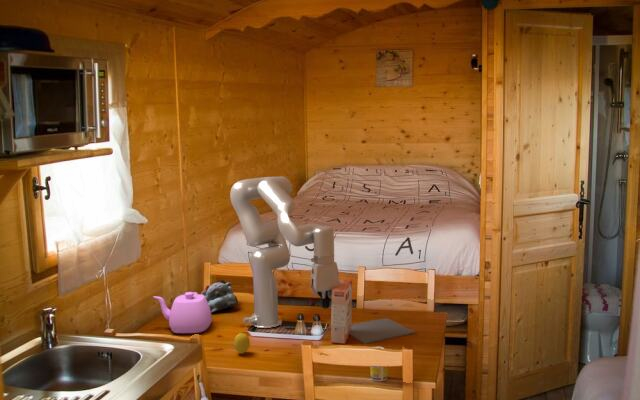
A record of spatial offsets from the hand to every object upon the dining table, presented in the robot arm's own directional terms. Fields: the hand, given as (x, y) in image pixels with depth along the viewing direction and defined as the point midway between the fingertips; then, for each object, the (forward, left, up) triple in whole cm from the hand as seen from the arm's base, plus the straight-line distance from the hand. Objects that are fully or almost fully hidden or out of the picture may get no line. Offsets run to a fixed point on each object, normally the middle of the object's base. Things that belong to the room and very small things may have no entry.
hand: (325, 307), depth 260 cm
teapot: (-40, +41, -13) cm, 59 cm away
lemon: (-32, +4, -13) cm, 35 cm away
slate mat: (+22, 0, -13) cm, 26 cm away
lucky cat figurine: (-21, +59, -13) cm, 64 cm away
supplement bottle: (-2, -40, -13) cm, 42 cm away
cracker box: (+7, 0, -13) cm, 15 cm away
